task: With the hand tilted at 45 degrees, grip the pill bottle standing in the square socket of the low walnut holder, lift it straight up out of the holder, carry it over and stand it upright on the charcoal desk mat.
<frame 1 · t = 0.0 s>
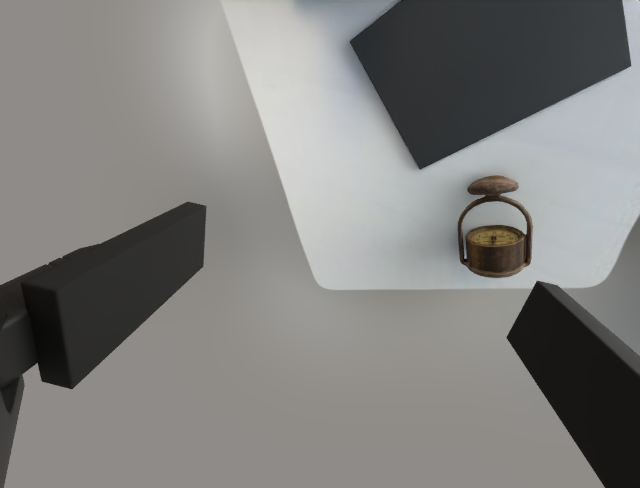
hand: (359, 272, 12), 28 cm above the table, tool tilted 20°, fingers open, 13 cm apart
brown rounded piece: (492, 215, 41), on the table
desk mat: (483, 52, 30), on the table
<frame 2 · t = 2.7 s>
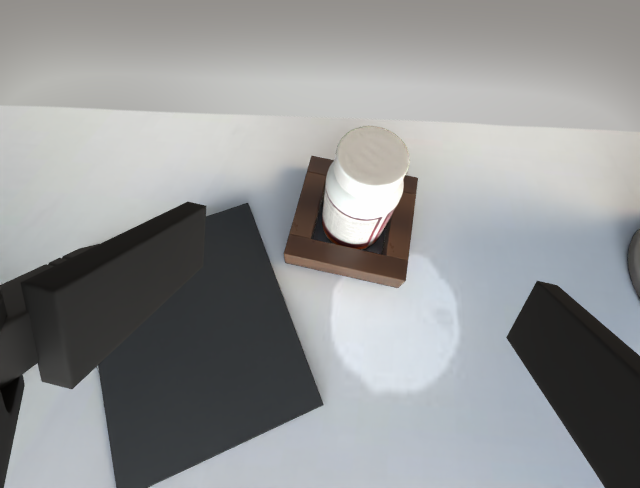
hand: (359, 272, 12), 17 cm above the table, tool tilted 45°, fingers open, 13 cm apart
pill bottle: (351, 225, 32), resting in holder
holder: (351, 224, 32), on the table
desk mat: (195, 326, 28), on the table
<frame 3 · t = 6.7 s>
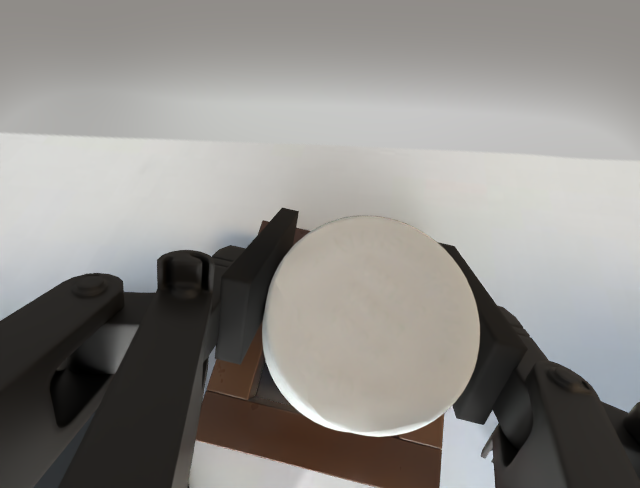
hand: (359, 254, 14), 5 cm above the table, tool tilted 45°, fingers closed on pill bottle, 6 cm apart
pill bottle: (333, 345, 18), resting in holder, touching gripper
holder: (333, 344, 18), on the table
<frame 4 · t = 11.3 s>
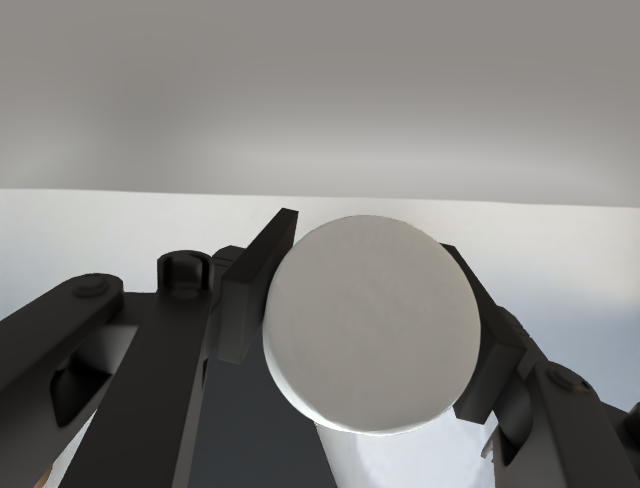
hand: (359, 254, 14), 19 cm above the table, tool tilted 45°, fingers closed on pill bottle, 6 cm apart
pill bottle: (333, 344, 18), point 13 cm above the table, touching gripper
desk mat: (219, 438, 27), on the table
when the fingers open (6 cm above the table, at t = 16.2 s): pill bottle stays where it is, resting on desk mat.
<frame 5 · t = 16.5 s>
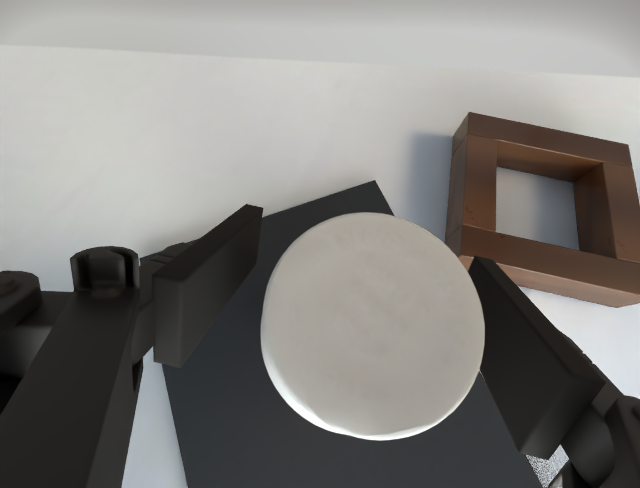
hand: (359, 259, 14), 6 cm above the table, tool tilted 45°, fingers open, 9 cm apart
pill bottle: (333, 345, 18), resting on desk mat
holder: (526, 213, 22), on the table
desk mat: (323, 369, 17), on the table
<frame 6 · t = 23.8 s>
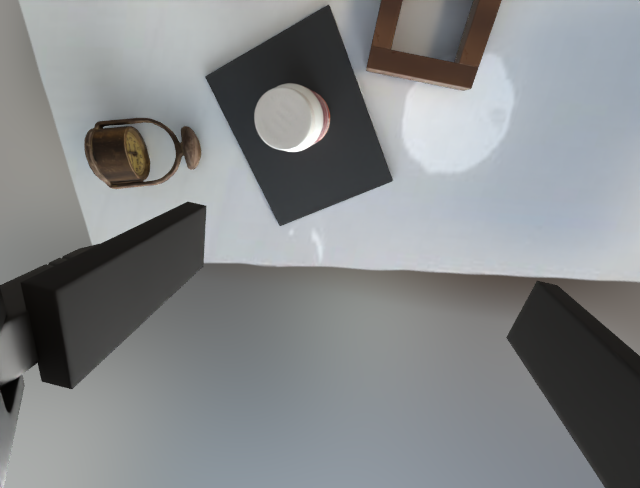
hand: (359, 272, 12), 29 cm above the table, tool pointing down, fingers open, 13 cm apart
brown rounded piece: (159, 154, 42), on the table
pill bottle: (305, 118, 37), resting on desk mat
holder: (430, 22, 33), on the table
desk mat: (301, 129, 38), on the table
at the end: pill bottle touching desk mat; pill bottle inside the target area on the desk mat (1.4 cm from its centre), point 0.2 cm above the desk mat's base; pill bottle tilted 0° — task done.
